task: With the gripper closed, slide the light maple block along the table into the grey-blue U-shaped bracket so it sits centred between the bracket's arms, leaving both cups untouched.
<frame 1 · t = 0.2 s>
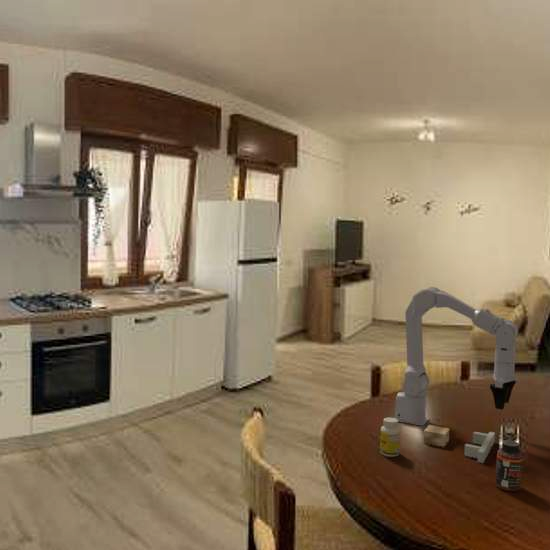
hand: (502, 405, 181), 10 cm above the table, tool pointing down, fingers open, 7 cm apart
maple block: (436, 442, 177), on the table
supplement bottle 2: (507, 487, 148), on the table
bracket: (467, 448, 173), on the table
supplement bottle: (389, 454, 168), on the table
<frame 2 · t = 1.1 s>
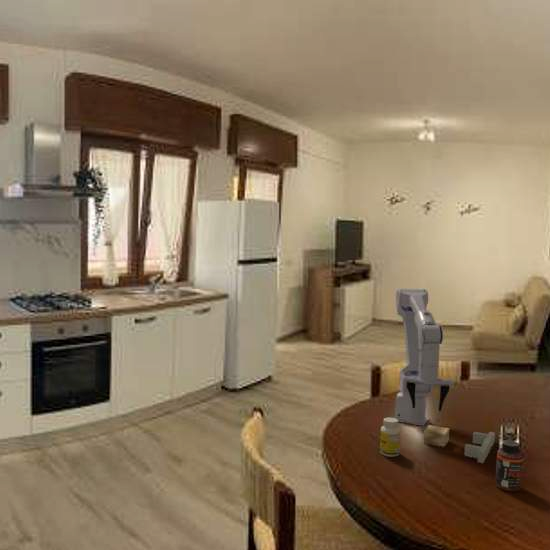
hand: (426, 408, 181), 9 cm above the table, tool pointing down, fingers open, 7 cm apart
nothing on the table moved.
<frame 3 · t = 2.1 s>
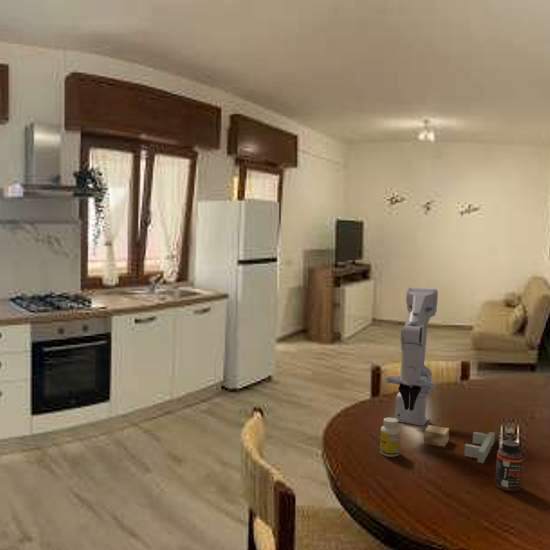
hand: (409, 409, 181), 8 cm above the table, tool pointing down, fingers closed
nothing on the table moved.
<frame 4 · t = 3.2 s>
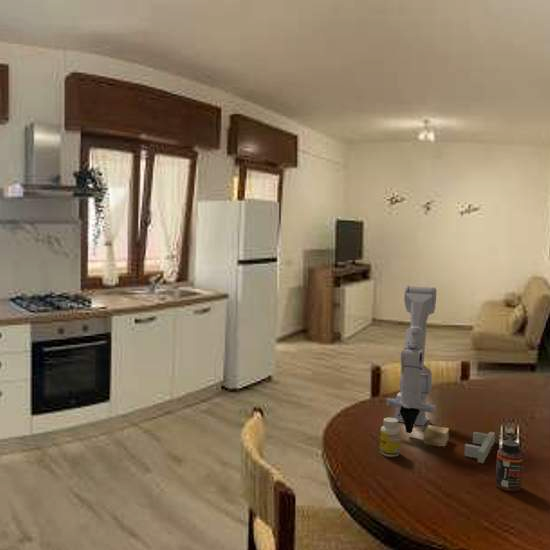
hand: (409, 432, 181), 1 cm above the table, tool pointing down, fingers closed
nothing on the table moved.
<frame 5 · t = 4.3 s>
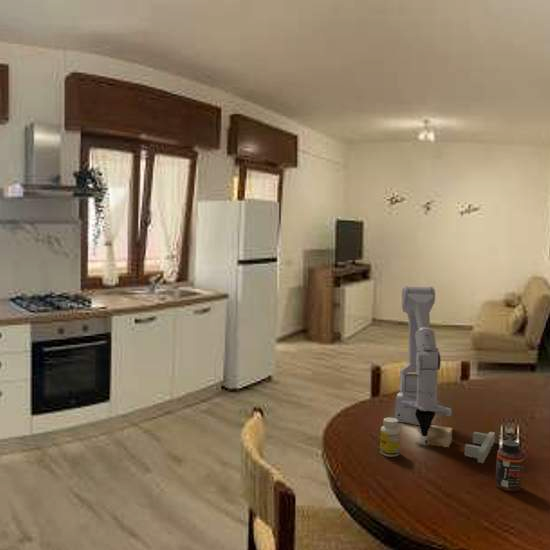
hand: (424, 435, 179), 1 cm above the table, tool pointing down, fingers closed
maple block: (439, 442, 177), on the table, touching gripper
everything else where it was.
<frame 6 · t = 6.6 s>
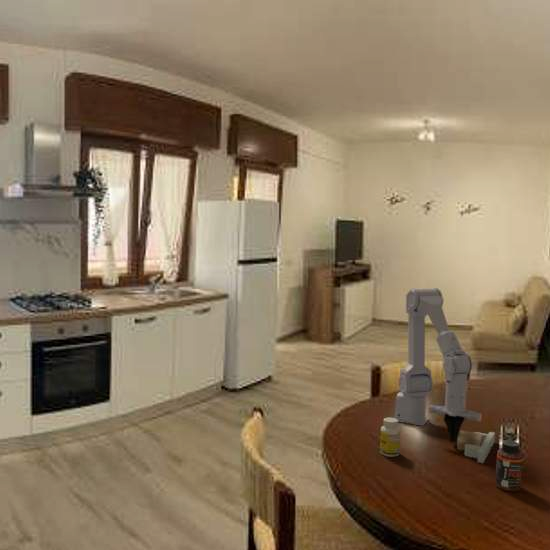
hand: (453, 440, 175), 1 cm above the table, tool pointing down, fingers closed
maple block: (469, 448, 173), on the table
everything else where it was.
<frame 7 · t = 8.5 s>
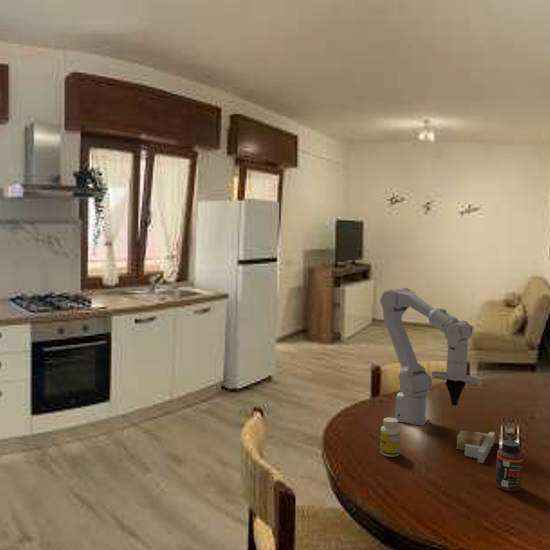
hand: (454, 404, 183), 9 cm above the table, tool pointing down, fingers closed
nothing on the table moved.
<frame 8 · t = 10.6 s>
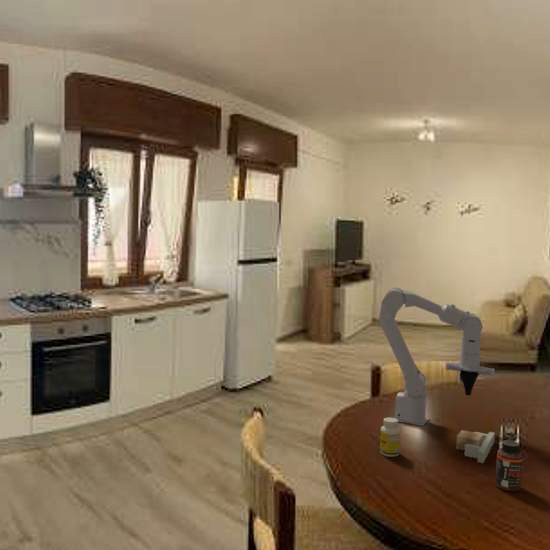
hand: (468, 394, 190), 10 cm above the table, tool pointing down, fingers closed
nothing on the table moved.
at the end: maple block 0.6 cm from the target spot, on the table; maple block tilted 0°; maple block moved 9.5 cm from its start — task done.
